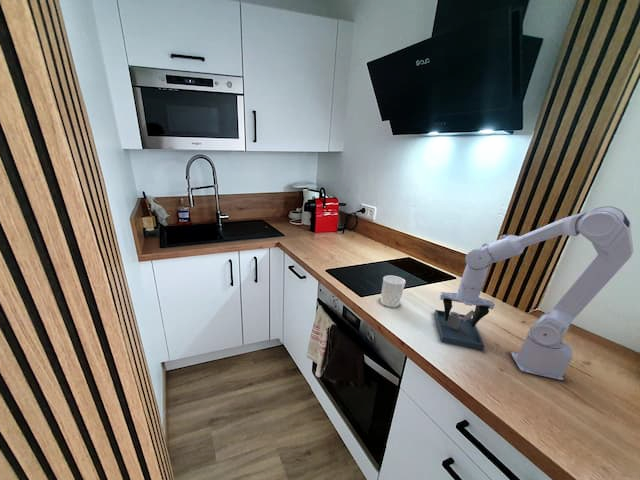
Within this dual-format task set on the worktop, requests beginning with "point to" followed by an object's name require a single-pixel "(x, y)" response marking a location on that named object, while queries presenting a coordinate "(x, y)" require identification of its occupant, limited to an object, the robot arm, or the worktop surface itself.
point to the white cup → (392, 290)
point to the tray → (458, 332)
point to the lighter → (457, 319)
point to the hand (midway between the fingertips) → (458, 322)
